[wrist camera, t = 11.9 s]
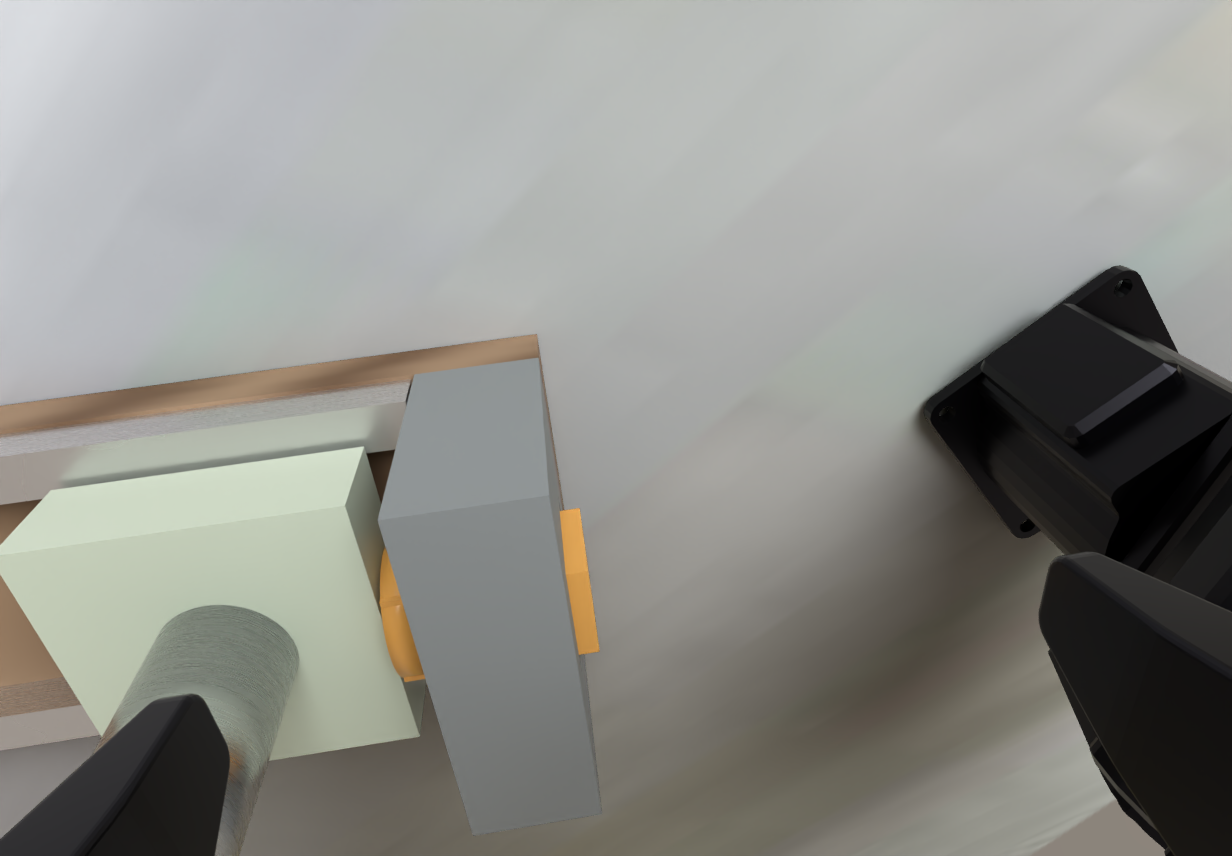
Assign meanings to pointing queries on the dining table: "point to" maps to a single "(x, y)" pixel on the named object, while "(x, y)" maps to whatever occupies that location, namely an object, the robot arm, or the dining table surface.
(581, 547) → the gauge plunger
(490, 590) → the rail
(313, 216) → the dining table surface
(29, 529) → the carriage
